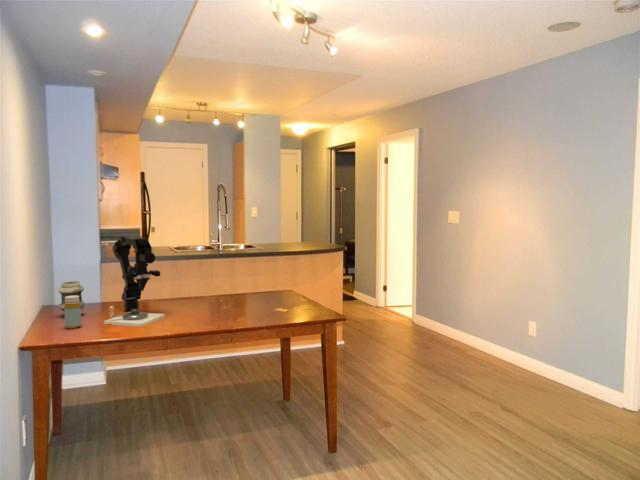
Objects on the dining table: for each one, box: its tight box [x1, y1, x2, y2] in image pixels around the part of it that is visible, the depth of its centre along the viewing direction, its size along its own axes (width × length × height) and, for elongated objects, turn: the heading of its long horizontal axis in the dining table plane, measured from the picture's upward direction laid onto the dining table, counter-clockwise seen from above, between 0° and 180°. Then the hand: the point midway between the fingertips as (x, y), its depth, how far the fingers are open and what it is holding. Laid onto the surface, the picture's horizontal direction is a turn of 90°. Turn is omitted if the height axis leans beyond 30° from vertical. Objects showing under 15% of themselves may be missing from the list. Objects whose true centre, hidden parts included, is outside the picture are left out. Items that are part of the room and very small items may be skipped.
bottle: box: [63, 295, 82, 329], centre depth 239 cm, size 7×7×15 cm
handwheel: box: [108, 305, 149, 320], centre depth 251 cm, size 18×12×7 cm, turn 123°
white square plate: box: [103, 312, 166, 328], centre depth 253 cm, size 21×21×2 cm
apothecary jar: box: [58, 280, 86, 318], centre depth 262 cm, size 12×12×18 cm
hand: (142, 290), depth 264 cm, fingers closed
